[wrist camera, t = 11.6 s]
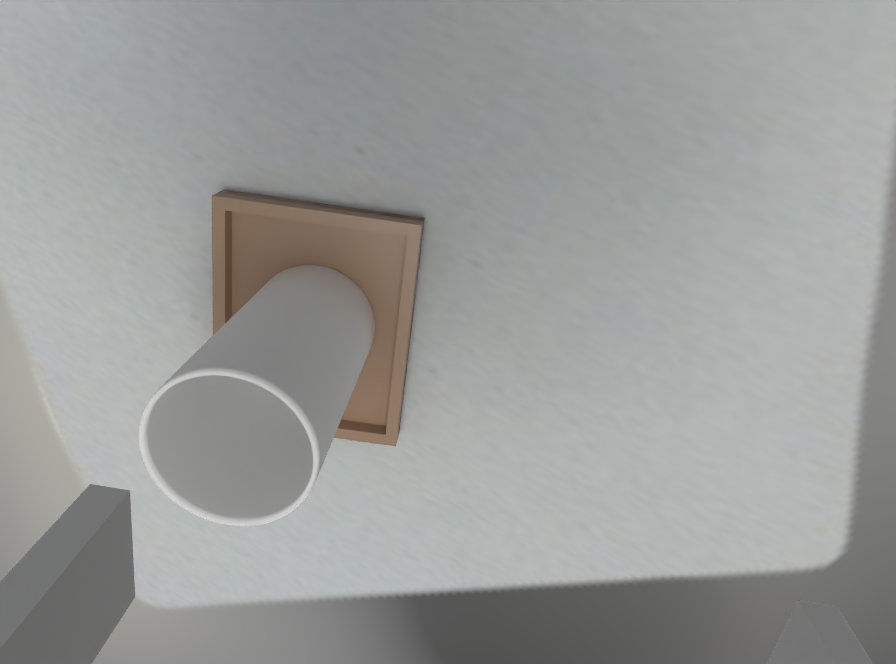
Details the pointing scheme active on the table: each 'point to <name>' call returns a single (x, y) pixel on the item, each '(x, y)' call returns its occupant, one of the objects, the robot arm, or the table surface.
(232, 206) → the tray
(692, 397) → the table surface
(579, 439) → the table surface
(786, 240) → the table surface
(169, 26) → the table surface
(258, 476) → the cup
